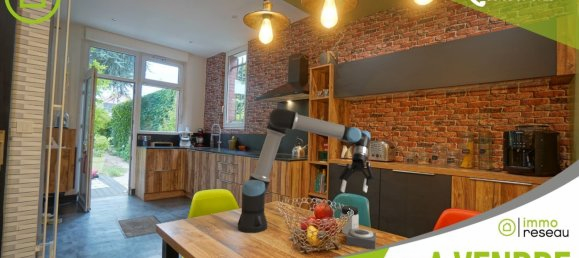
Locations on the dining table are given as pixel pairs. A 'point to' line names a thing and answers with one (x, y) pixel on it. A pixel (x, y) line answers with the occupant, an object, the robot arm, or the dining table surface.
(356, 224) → the jar
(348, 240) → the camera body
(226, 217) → the dining table surface
